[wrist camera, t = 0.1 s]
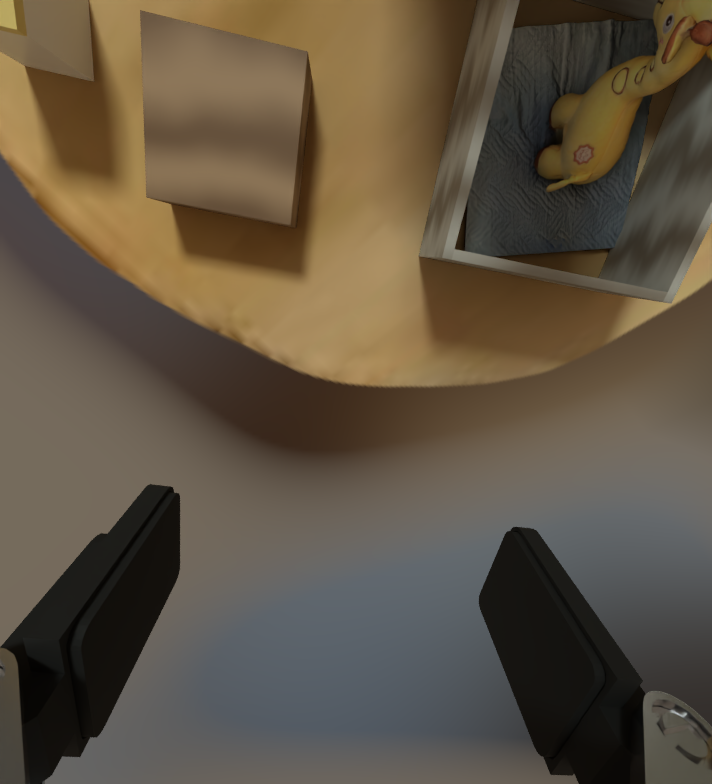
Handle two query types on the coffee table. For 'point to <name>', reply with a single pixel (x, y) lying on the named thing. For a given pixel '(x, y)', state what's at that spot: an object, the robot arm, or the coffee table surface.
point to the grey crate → (650, 198)
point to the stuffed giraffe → (575, 128)
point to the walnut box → (223, 120)
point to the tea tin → (48, 35)
